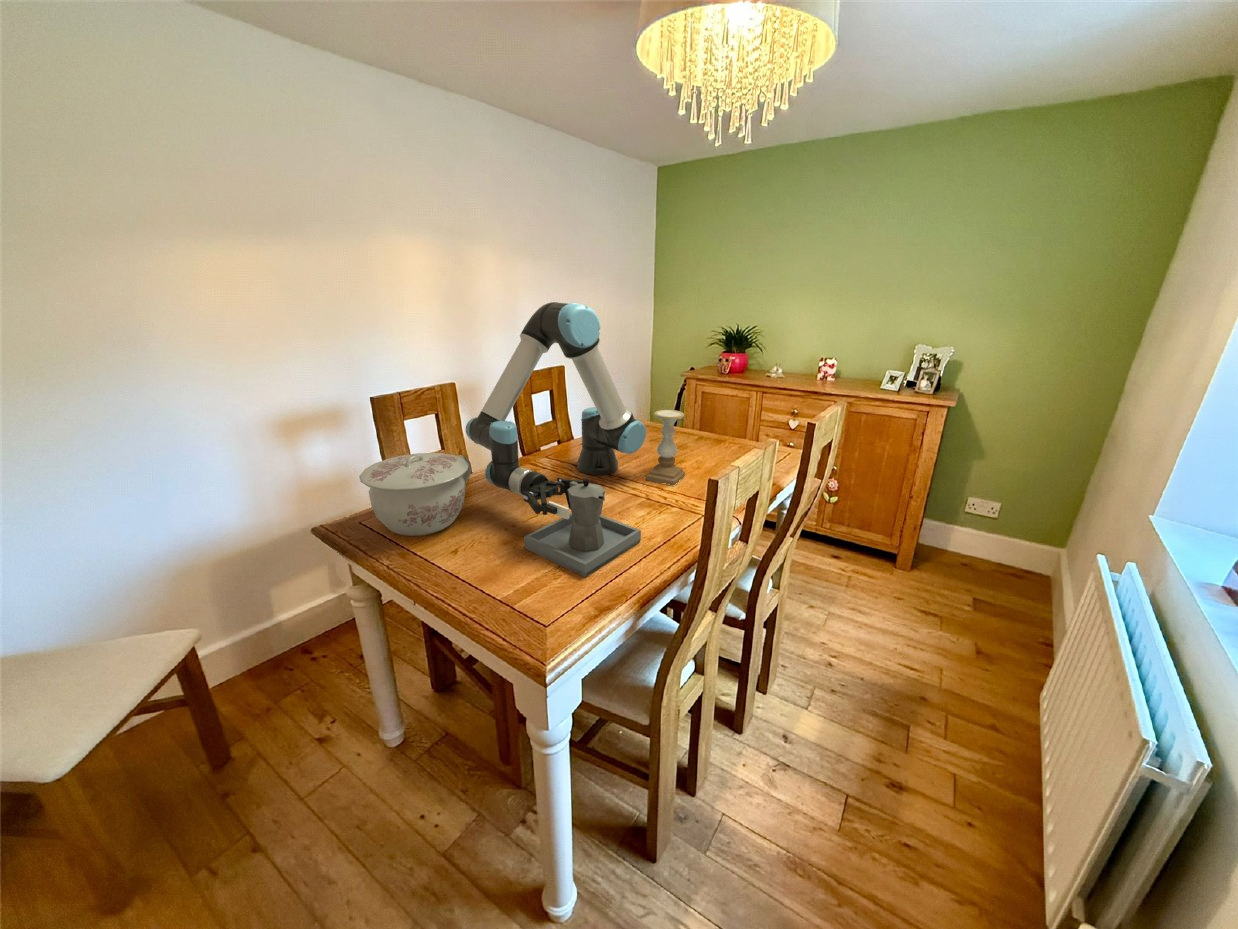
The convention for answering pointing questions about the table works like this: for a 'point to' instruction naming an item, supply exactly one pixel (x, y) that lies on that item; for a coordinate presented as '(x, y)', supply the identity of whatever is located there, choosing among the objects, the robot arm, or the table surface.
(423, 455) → the chamber pot
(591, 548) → the coffeepot
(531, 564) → the table surface
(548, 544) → the charcoal dish
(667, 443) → the candle holder
